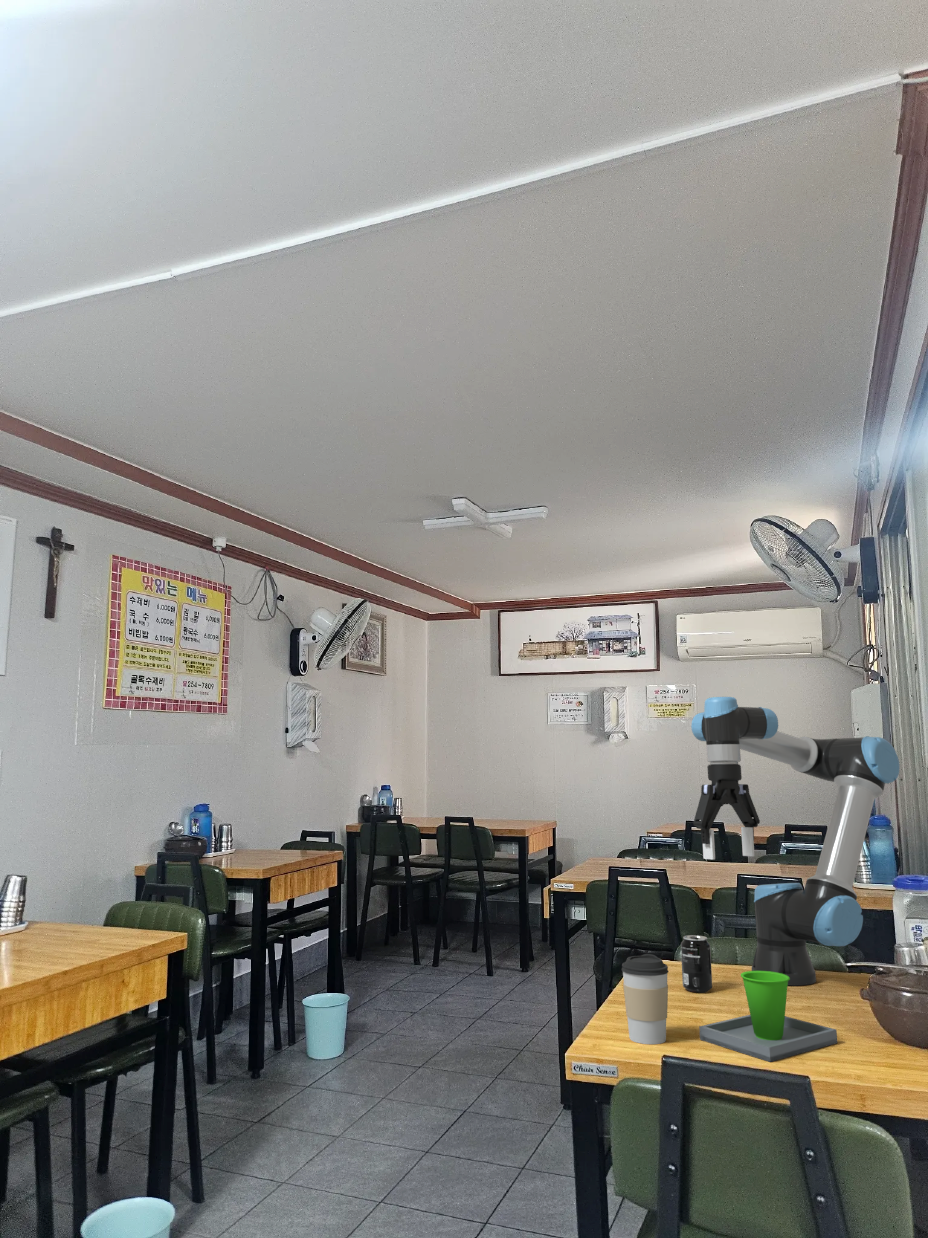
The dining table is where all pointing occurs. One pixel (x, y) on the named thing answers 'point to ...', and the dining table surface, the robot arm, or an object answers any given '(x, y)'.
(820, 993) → the dining table surface
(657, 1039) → the coffee cup
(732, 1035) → the tray
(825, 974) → the dining table surface
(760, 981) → the cup
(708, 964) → the beverage can
